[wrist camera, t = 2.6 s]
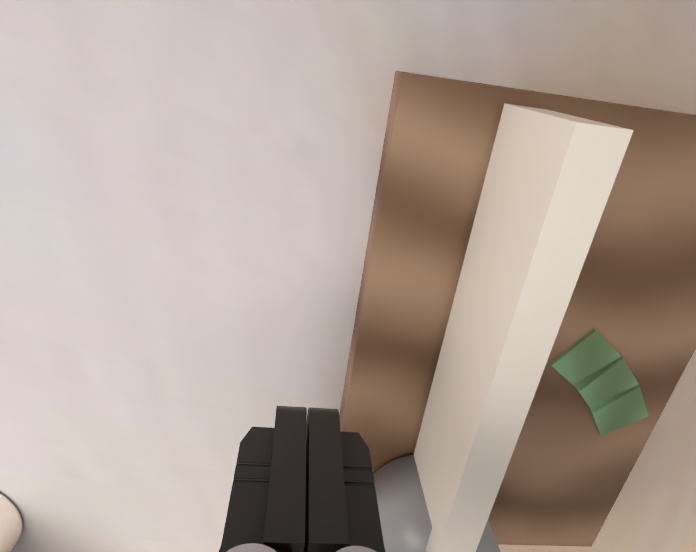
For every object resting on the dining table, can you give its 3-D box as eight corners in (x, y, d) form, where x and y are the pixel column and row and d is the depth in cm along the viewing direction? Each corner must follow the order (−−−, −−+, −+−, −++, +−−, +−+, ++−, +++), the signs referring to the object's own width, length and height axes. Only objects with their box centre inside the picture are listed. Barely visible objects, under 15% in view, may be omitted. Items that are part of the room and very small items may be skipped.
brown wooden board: (395, 71, 18) (403, 72, 16) (774, 126, 19) (814, 133, 18) (323, 515, 28) (323, 543, 26) (578, 523, 29) (593, 549, 28)
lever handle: (459, 536, 26) (490, 635, 22) (353, 533, 26) (362, 635, 21) (604, 117, 17) (709, 140, 13) (444, 94, 16) (494, 110, 12)
